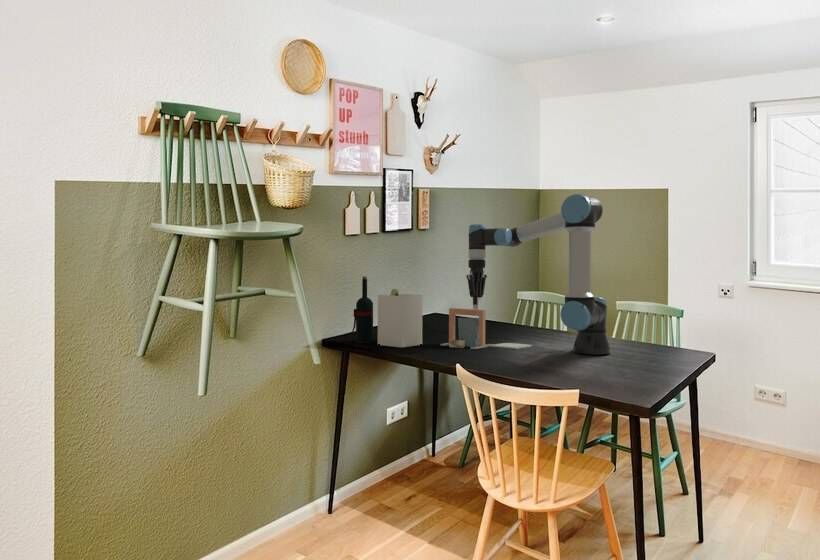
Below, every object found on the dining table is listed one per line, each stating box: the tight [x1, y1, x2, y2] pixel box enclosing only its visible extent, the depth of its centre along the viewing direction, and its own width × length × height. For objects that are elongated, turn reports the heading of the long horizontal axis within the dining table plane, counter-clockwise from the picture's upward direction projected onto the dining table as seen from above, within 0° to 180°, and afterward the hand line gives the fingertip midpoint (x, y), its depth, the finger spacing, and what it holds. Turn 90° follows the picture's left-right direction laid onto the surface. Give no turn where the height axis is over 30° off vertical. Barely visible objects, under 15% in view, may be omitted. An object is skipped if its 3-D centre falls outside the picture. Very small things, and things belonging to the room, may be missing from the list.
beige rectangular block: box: [448, 339, 466, 349], centre depth 282 cm, size 6×18×3 cm, turn 140°
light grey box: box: [377, 293, 424, 348], centre depth 285 cm, size 14×14×22 cm
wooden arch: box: [448, 307, 486, 346], centre depth 282 cm, size 18×2×15 cm, turn 50°
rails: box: [439, 342, 495, 350], centre depth 283 cm, size 18×15×1 cm
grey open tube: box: [457, 317, 479, 347], centre depth 282 cm, size 10×10×12 cm
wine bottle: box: [351, 276, 374, 343], centre depth 291 cm, size 8×10×30 cm
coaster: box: [490, 342, 533, 350], centre depth 280 cm, size 13×13×1 cm
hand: (476, 311), depth 288 cm, fingers closed
